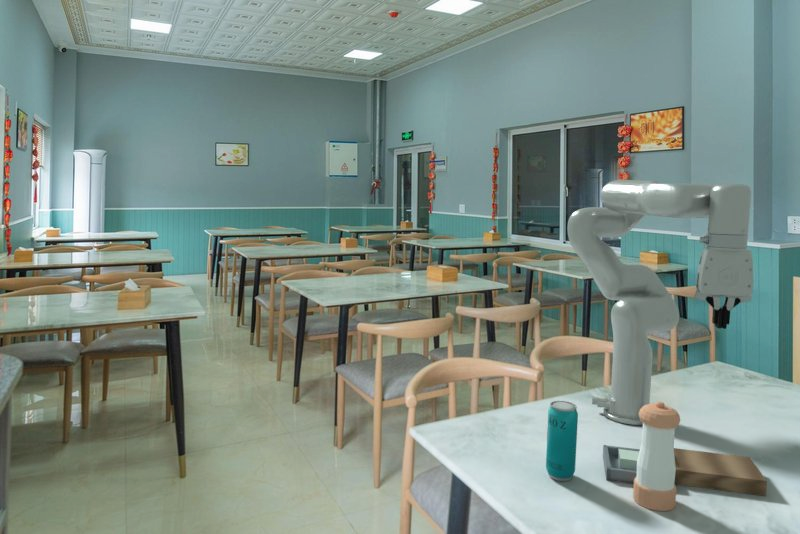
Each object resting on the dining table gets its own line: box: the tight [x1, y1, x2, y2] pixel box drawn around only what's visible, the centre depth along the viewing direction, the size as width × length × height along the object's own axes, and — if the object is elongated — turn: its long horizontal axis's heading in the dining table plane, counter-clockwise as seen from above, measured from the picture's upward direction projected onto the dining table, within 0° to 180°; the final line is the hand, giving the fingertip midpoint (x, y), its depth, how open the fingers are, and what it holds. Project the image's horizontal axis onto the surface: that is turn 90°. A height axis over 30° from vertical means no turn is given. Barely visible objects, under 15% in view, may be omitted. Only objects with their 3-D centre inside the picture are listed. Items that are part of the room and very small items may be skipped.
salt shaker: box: [632, 401, 681, 512], centre depth 107 cm, size 7×7×19 cm
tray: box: [602, 444, 676, 485], centre depth 120 cm, size 13×12×2 cm
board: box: [674, 447, 768, 497], centre depth 118 cm, size 16×11×3 cm
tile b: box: [618, 449, 639, 470], centre depth 122 cm, size 5×5×2 cm
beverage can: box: [545, 400, 579, 482], centre depth 117 cm, size 6×6×15 cm
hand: (720, 327), depth 125 cm, fingers closed
